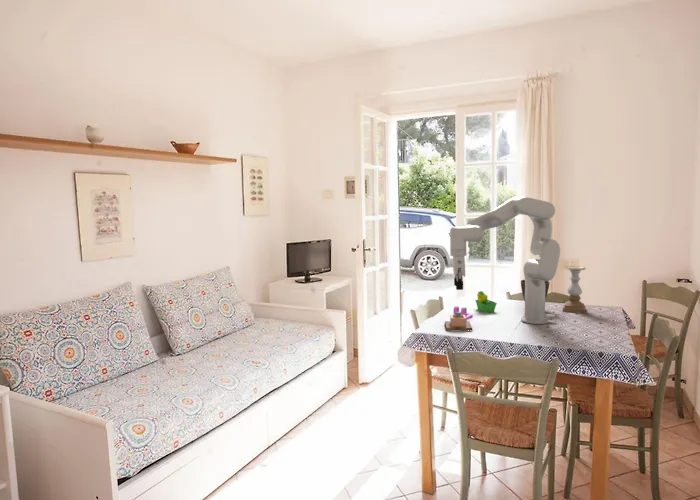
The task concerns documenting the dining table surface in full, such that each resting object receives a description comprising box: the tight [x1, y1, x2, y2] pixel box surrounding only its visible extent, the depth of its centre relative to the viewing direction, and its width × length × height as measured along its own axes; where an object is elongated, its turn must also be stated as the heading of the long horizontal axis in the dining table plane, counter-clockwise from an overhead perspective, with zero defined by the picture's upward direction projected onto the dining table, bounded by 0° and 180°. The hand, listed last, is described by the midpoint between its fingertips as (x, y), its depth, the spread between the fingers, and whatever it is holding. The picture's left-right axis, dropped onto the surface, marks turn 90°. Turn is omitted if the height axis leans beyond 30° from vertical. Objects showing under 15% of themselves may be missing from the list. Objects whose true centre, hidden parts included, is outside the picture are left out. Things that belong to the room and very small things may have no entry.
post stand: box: [444, 311, 473, 332], centre depth 238 cm, size 12×12×8 cm
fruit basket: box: [475, 290, 498, 313], centre depth 271 cm, size 11×9×11 cm
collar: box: [449, 314, 467, 327], centre depth 238 cm, size 7×7×4 cm
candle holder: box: [562, 265, 587, 314], centre depth 267 cm, size 11×11×24 cm
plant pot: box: [520, 279, 550, 302], centre depth 270 cm, size 15×15×16 cm
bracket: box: [453, 305, 474, 321], centre depth 256 cm, size 13×6×7 cm, turn 141°
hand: (458, 287), depth 236 cm, fingers open, 9 cm apart
